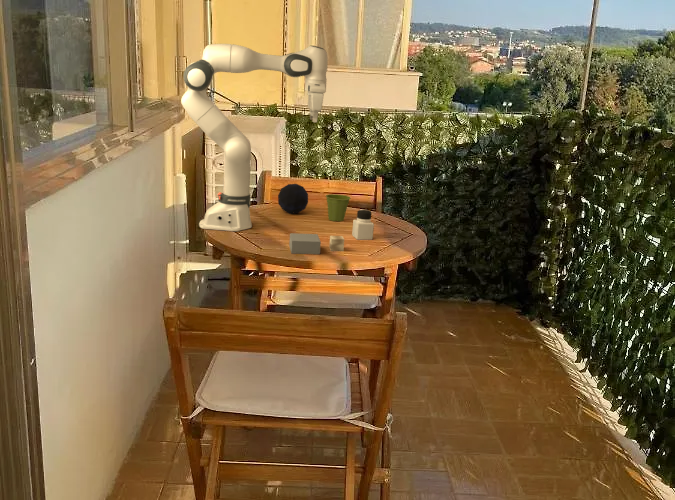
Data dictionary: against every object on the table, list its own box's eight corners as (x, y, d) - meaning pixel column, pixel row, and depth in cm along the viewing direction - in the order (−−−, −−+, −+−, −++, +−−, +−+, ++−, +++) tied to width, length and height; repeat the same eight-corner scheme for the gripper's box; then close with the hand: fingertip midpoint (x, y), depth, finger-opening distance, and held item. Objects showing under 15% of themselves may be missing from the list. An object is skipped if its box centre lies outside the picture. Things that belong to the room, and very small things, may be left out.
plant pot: (344, 224, 293) (346, 200, 290) (320, 220, 297) (321, 197, 293) (352, 219, 304) (353, 196, 301) (328, 215, 307) (330, 192, 304)
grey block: (291, 253, 243) (292, 240, 241) (289, 245, 253) (289, 233, 252) (319, 254, 245) (320, 241, 243) (316, 246, 255) (317, 234, 254)
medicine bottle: (372, 239, 271) (375, 212, 267) (356, 239, 269) (359, 212, 265) (367, 235, 277) (369, 208, 274) (351, 235, 275) (354, 208, 272)
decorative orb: (287, 196, 318) (281, 175, 306) (315, 200, 313) (309, 179, 301) (277, 217, 310) (270, 196, 298) (305, 222, 305) (299, 201, 294)
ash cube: (330, 251, 250) (331, 239, 249) (329, 247, 255) (330, 235, 253) (343, 251, 251) (344, 239, 250) (341, 247, 256) (342, 236, 254)
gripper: (305, 85, 272) (303, 118, 276) (310, 87, 253) (308, 123, 257) (320, 86, 273) (317, 119, 277) (326, 88, 254) (323, 123, 258)
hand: (313, 121), depth 267 cm, fingers open, 8 cm apart
